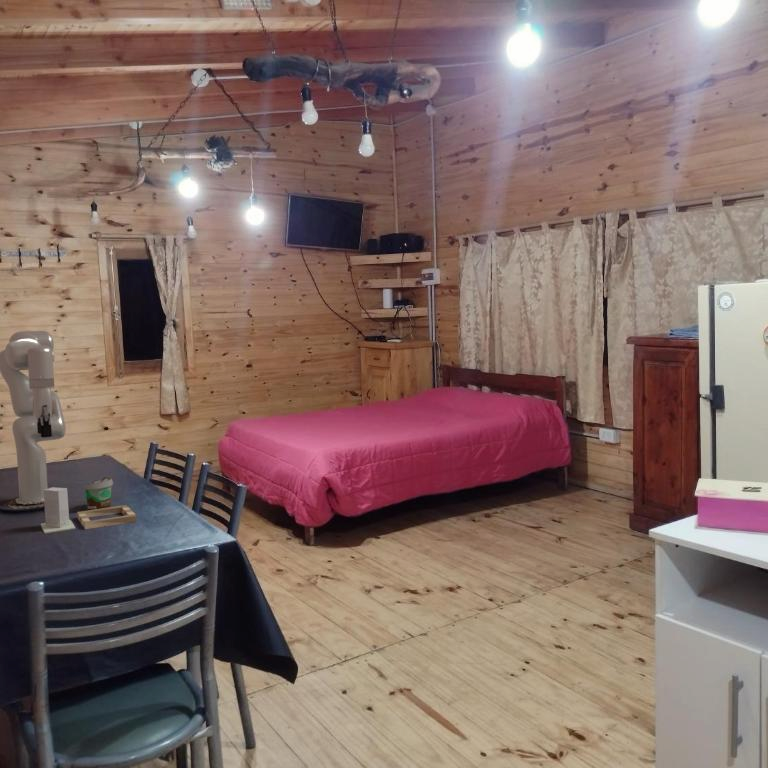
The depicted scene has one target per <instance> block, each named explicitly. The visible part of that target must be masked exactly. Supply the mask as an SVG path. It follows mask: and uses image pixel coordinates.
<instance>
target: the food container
mask: <svg viewBox="0 0 768 768" xmlns="http://www.w3.org/2000/svg"><path fill="white" fill-rule="evenodd" d="M113 485H114V481H113V479H112V477H111V476H105V475H104V476H103V478H102V479H100V480H94V481H92V482H89V483H88V482H86V483H84V487H83V490H85V498H86V506H87V511H88V510H95V509H102V508H109V507H112V506H111V502H112V486H113Z"/></svg>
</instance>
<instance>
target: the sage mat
mask: <svg viewBox="0 0 768 768" xmlns="http://www.w3.org/2000/svg"><path fill="white" fill-rule="evenodd" d="M40 527H41V529H42V532H43V534H50V533H57V532H64V531H70V530H71V531H72V530H76V526H75V525H74V523H73V521H72V520H71V519H69V524H68V525H66V526H63V527H49V526H46V522H44V523H40Z"/></svg>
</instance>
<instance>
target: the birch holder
mask: <svg viewBox="0 0 768 768" xmlns="http://www.w3.org/2000/svg"><path fill="white" fill-rule="evenodd" d="M116 514H122V516H115V517H109V518H108V517H107V518H100V519H93V520H90V518H97V517H102V516H103V517H104V516H109V515H110V516H111V515H116ZM76 518H77V520H78V522H79V523H80V524H81V526H82V527H83V528H84V530H90V529H97V528H104V526H105V527H110V526H116V525H118V526H119V525H123V524H129V523H137V522H138V516H137V514H136V513H135V512H134V511H133V510H132V509H131V508H130V507H129V506H128V505H126V504H124V505H118V506H117V505H116V506H110V507H109V508H102V509H95V510H88V509H87V510H84V511H83V510H82V511H77V512H76ZM136 521H137V522H136Z"/></svg>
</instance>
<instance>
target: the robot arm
mask: <svg viewBox="0 0 768 768" xmlns="http://www.w3.org/2000/svg"><path fill="white" fill-rule="evenodd" d="M54 344H55V342H54V338H53V336H52V335H51V333H50V332H48V331H45V330H23V331H17V332H15V333H13V334H12V335H11V336H10V337H9V341H8V343H7V344H6V347H5V348H4V349H3V350H1V351H0V374H1V376H2V378H3V379H4V382H5V383H6V385H7V387H8V390H9V395H10V399H11V405H12V410H13V413H14V414H15V416H17V417H18V418H16V419H15V420H14V421H13V423H12V429H11V431H12V434H13V438H14V444H15V450H16V460H17V461H16V462H17V464H16V465H17V479H18V493H19V495H18V496H19V497H17V498H16V499H15V500H18V499H19V500H21V501H24V502H26V503H30V502H35V501H36V502H40V501H44V490H45V489H49V487H48V470H47V469H48V468H47V455H46V452H45V450H44V449H43V448H42V446H40V445H39V444H38V443H40V442H44V441H55V440H60V439H63V438H64V436H65V435H66V428H67V427H66V423H65V418H64V414H63V409H62V405H61V401H60V397H59V396H58V394H57V393H56V392H55V391H52V389H54V388H55V375H54V361H55V351H54V346H55V345H54ZM21 371H28V375H26V374H25V373H23V372H21Z"/></svg>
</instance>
